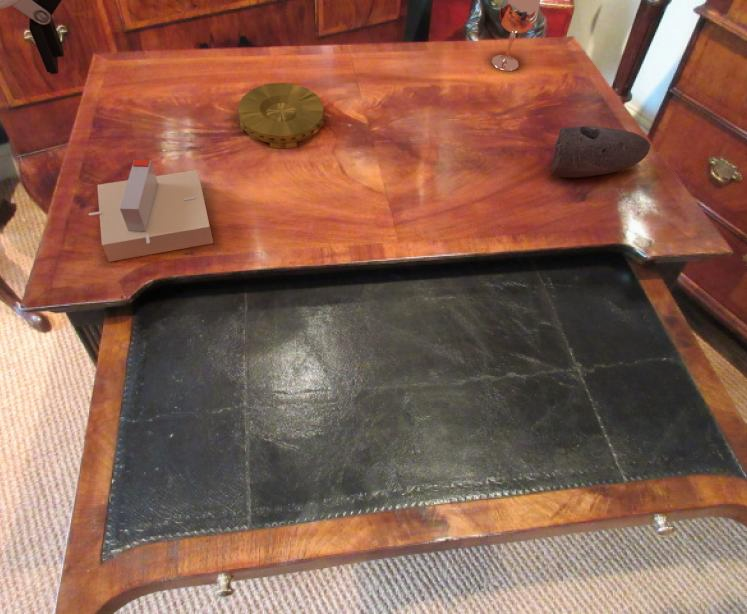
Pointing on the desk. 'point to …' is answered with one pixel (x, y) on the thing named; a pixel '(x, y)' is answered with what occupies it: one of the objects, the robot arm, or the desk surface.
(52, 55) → the robot arm
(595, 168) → the perforated stone tool
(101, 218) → the tap plate
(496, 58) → the wineglass
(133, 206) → the grey rectangular block
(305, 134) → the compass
